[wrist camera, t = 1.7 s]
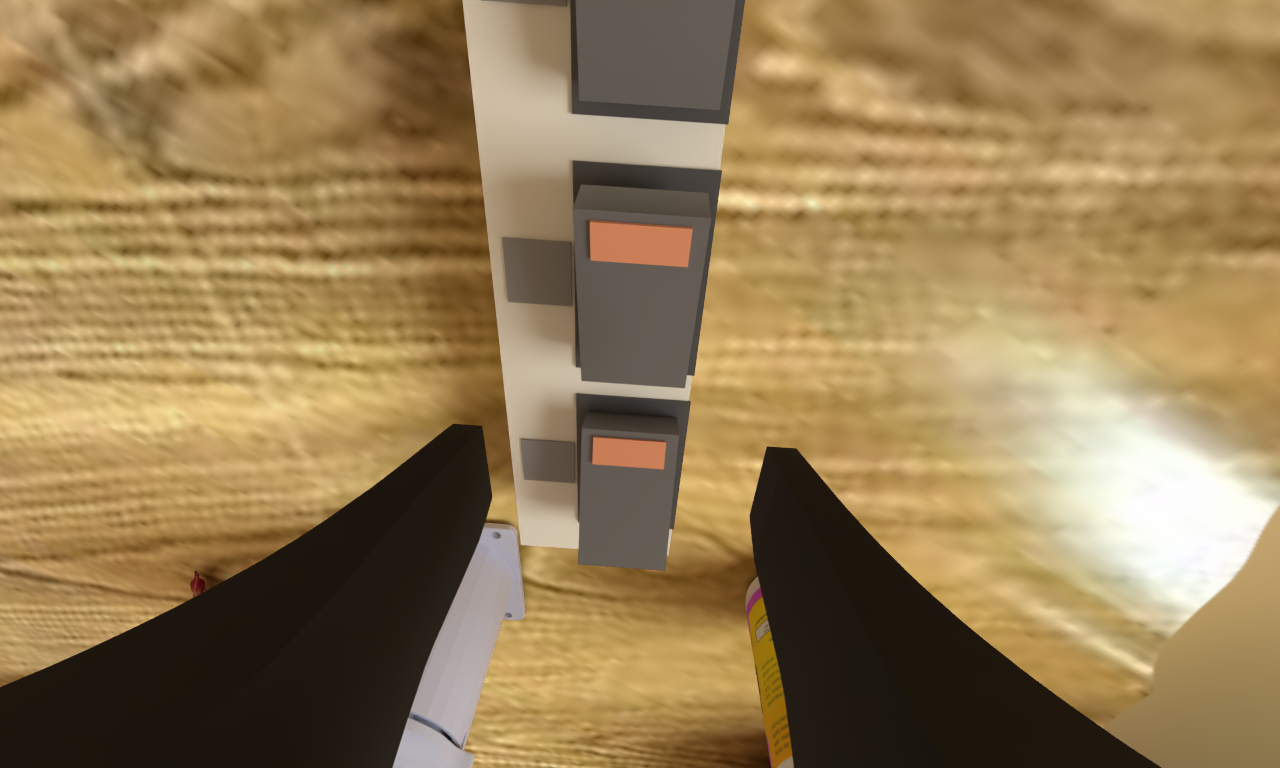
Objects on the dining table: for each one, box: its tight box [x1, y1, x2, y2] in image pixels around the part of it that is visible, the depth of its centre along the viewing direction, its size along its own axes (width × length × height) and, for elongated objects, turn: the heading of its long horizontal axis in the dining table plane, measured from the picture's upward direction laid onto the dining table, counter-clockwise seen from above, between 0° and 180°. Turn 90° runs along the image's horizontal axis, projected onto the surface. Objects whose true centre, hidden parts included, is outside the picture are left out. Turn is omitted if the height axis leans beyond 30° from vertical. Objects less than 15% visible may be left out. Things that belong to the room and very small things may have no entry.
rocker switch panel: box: [462, 0, 745, 556], centre depth 16 cm, size 6×25×4 cm, turn 177°
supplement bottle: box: [746, 576, 794, 768], centre depth 22 cm, size 7×7×13 cm
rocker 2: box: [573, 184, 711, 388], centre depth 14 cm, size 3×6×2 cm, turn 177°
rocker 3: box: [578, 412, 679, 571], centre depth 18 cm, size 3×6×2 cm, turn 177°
